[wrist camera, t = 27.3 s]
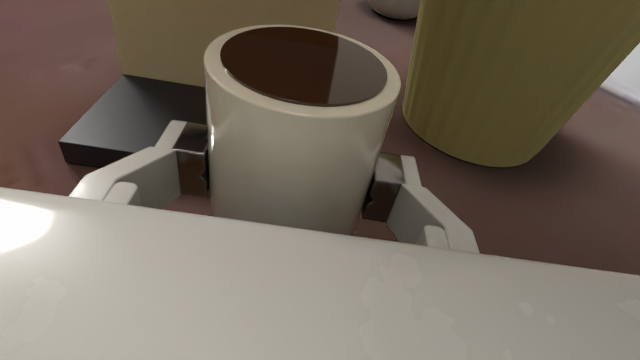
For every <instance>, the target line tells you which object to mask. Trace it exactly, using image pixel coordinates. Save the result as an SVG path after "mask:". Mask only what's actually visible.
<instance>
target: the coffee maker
mask: <svg viewBox="0 0 640 360" xmlns="http://www.w3.org/2000/svg"><path fill="white" fill-rule="evenodd" d="M108 4H109V9H110V14H111V19H112V24H113V29H114V34H115V39H116V44H117V49H118V54H119V59H120V64H121V69H122V75H121V76H120V78H119V79H118V80H117V81H116V82H115V83H114V84H113V85H112V86H111V87H110V88H109V89H108V90H107V91H106V92H105V93H104V94H103V95H102V96H101V97H100V98H99V99H98V100H97V101H96V103H95V104H94V105H93V106H92V107H91V108H90V109H89V110H88V111H87V112H86V113H85V114H84V115H83V116H82V117H81V118H80V119H79V120H78V121H77V122H76V123H75V124H74V125H73V127H72V128H71V129H70V130H69V131H68V132H67V133H66V134H65V135H64V136H63V137H62V138H61V139H60V140H59V141H58V142H59V145H60V148H61V150H62V153H63V156H64V159H65V161H66V162H67V163H74V164H81V165H87V166H94V167H101V168H103V167H105V166H107V165H109V164H112V163H114V162H116V161H118V160H121V159H123V158H125V157H127V156H130V155H132V154H134V153H136V152H139V151H141V150H143V149H145V148H148V147H155V145H156V144H157V142H158V140H159V139H160V137H161V136H162V134H163V132H164V131H165V129H166V128H167V126H168V125H169V123H170V121H172V120H178V121H185V122H191V123H197V124H202V125H207V124H206V103H205V83H204V63H203V59H204V53H205V51H206V49H207V47H208V46H209V44H210V43H211V42H212V41H213V40H215V39H216V38H217V37H219V36H221V35H223V34H225V33H227V32H230V31H232V30H236V29H239V28H244V27H249V26H257V25H295V26H304V27H311V28H316V29H321V30H325V31H329V32H333V33H334V31H335V26H336V20H337V15H338V9H339V4H340V0H108Z"/></svg>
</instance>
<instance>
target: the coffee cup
mask: <svg viewBox="0 0 640 360" xmlns="http://www.w3.org/2000/svg"><path fill="white" fill-rule="evenodd" d="M203 63H204V83H205V103H206V124H207V144H208V164H209V185H210V205H211V216H213V217H220V218H228V219H235V220H242V221H249V222H257V223H264V224H271V225H278V226H285V227H293V228H300V229H307V230H314V231H322V232H329V233H336V234H343V235H350V236H354V233H355V230H356V227H357V223H358V220H359V217H360V214H361V211H362V208H363V205H364V202H365V199H366V196H367V193H368V189H369V186H370V183H371V180H372V177H373V174H374V171H375V168H376V165H377V162H378V159H379V155H380V152H381V149H382V146H383V143H384V140H385V137H386V134H387V131H388V128H389V125H390V121H391V118H392V115H393V112H394V109H395V106H396V103H397V100H398V97H399V94H400V90H401V79H400V76H399V73H398V72H397V70H396V68H395V67H394V66H393V65H392V63H391V62H390V61H389V60H387V59H386V58H385V57H384V56H383V55H381V54H380V53H379V52H377V51H376V50H374V49H372V48H371V47H369V46H367V45H365V44H363V43H361V42H358V41H356V40H354V39H351V38H349V37H346V36H343V35H340V34H337V33H333V32H329V31H325V30H321V29H316V28H311V27H304V26H295V25H257V26H249V27H244V28H239V29H236V30H232V31H230V32H227V33H225V34H223V35H221V36H219V37H217V38H216V39H215V40H213V41H212V42H211V43H210V44H209V46H208V47H207V49H206V51H205V53H204V59H203Z"/></svg>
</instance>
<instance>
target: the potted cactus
mask: <svg viewBox="0 0 640 360" xmlns="http://www.w3.org/2000/svg"><path fill="white" fill-rule="evenodd" d="M639 43H640V0H420V6H419V12H418V18H417V23H416V29H415V35H414V41H413V47H412V52H411V58H410V64H409V70H408V75H407V81H406V87H405V93H404V99H403V105H402V106H403V115H404V118H405V120H406V122H407V123H408V125H409V126H410V127H411V129H412V130H413V131H414V132H415V133H416V134H417V135H418V136H420V137H421V138H422V139H423V140H424V141H426V142H427V143H429V144H430V145H432V146H433V147H435V148H437V149H439V150H441V151H443V152H445V153H447V154H449V155H451V156H453V157H456V158H459V159H461V160H464V161H467V162H471V163H475V164H479V165H485V166H491V167H512V166H518V165H521V164H524V163H526V162H528V161H529V160H531V159H532V158H533V157H534V156H535V155H536V154H538V153H539V152H540V150H541V149H542V148H543V147H544V146H545V145H546V144H547V143H548V142H549V141H550V140H551V138H552V137H553V136H554V135H555V134H556V133H557V132H558V131H559V130H560V129H561V128H562V126H563V125H564V124H565V123H566V122H567V121H568V120H569V119H570V118H571V117H572V116H573V114H574V113H575V112H576V111H577V110H578V109H579V108H580V107H581V106H582V105H583V104H584V102H585V101H586V100H587V99H588V98H589V97H590V96H591V95H592V94H593V93H594V92H595V91H596V89H597V88H598V87H599V86H600V85H601V84H602V83H603V82H604V81H605V80H606V79H607V77H608V76H609V75H610V74H611V73H612V72H613V71H614V70H615V69H616V68H617V67H618V66H619V64H620V63H621V62H622V61H623V60H624V59H625V58H626V57H627V56H628V55H629V54H630V52H631V51H632V50H633V49H634V48H635V47H636V46H637V45H638V44H639Z"/></svg>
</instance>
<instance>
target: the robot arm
mask: <svg viewBox="0 0 640 360" xmlns="http://www.w3.org/2000/svg"><path fill="white" fill-rule="evenodd" d="M209 190H210V185H209V164H208V144H207V125H202V124H197V123H191V122H185V121H178V120H172V121H170V123H169V125H168V126H167V128H166V129H165V131H164V132H163V134H162V136H161V137H160V139H159V140H158V142H157V144H156V145H155V147H148V148H145V149H143V150H141V151H139V152H136V153H134V154H132V155H130V156H127V157H125V158H123V159H121V160H118V161H116V162H114V163H112V164H109V165H107V166H105V167H103V168H100V169H98V170H96V171H94V172H91V173H89V174H87V175H85V176H84V177H83V179H82V180H81V181H80V182H79V184H78V185H77V186H76V187H75V189H74V190H73V191H72V193H71V194H70V195H69V196H62V195H54V194H47V193H40V192H33V191H26V190H18V189H11V188H4V187H0V360H640V275H633V274H626V273H619V272H611V271H604V270H597V269H589V268H582V267H575V266H567V265H560V264H553V263H545V262H538V261H531V260H524V259H517V258H509V257H502V256H495V255H488V254H480V252H479V249H478V246H477V243H476V240H475V237H474V234H473V231H472V230H471V229H470V228H469V227H468V226H467V225H466V224H465V223H464V222H463V221H461V220H460V219H459V218H458V217H457V216H456V215H455V214H454V213H453V212H452V211H451V210H450V209H448V208H447V207H446V206H445V205H444V204H443V203H442V202H441V201H440V200H439V199H438V198H437V197H436V196H434V195H433V194H432V193H431V192H430V191H429V190H428V189H427V188H426V187H422V185H421V181H420V177H419V173H418V168H417V164H416V160H415V157H414V156H407V155H396V154H389V153H382V152H380V155H379V159H378V162H377V165H376V168H375V171H374V174H373V177H372V180H371V183H370V186H369V189H368V193H367V196H366V199H365V202H364V205H363V208H362V219H367V220H373V221H379V222H385V223H386V224H387V226H388V227H389V229H390V230H391V231H392V233H393V234H394V236H395V237H396V239H397V240H398V241H399V242H394V241H387V240H379V239H372V238H365V237H358V236H350V235H343V234H336V233H329V232H322V231H314V230H307V229H300V228H293V227H285V226H278V225H271V224H264V223H257V222H249V221H242V220H235V219H228V218H220V217H213V216H206V215H199V214H192V213H184V212H177V211H170V210H163V208H164V207H166V206H167V205H168V204H170V203H171V202H172V201H174V200H175V199H176V198H178V197H179V196H180V195H181V194H188V195H196V196H205V197H207V195H208V192H209Z"/></svg>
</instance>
